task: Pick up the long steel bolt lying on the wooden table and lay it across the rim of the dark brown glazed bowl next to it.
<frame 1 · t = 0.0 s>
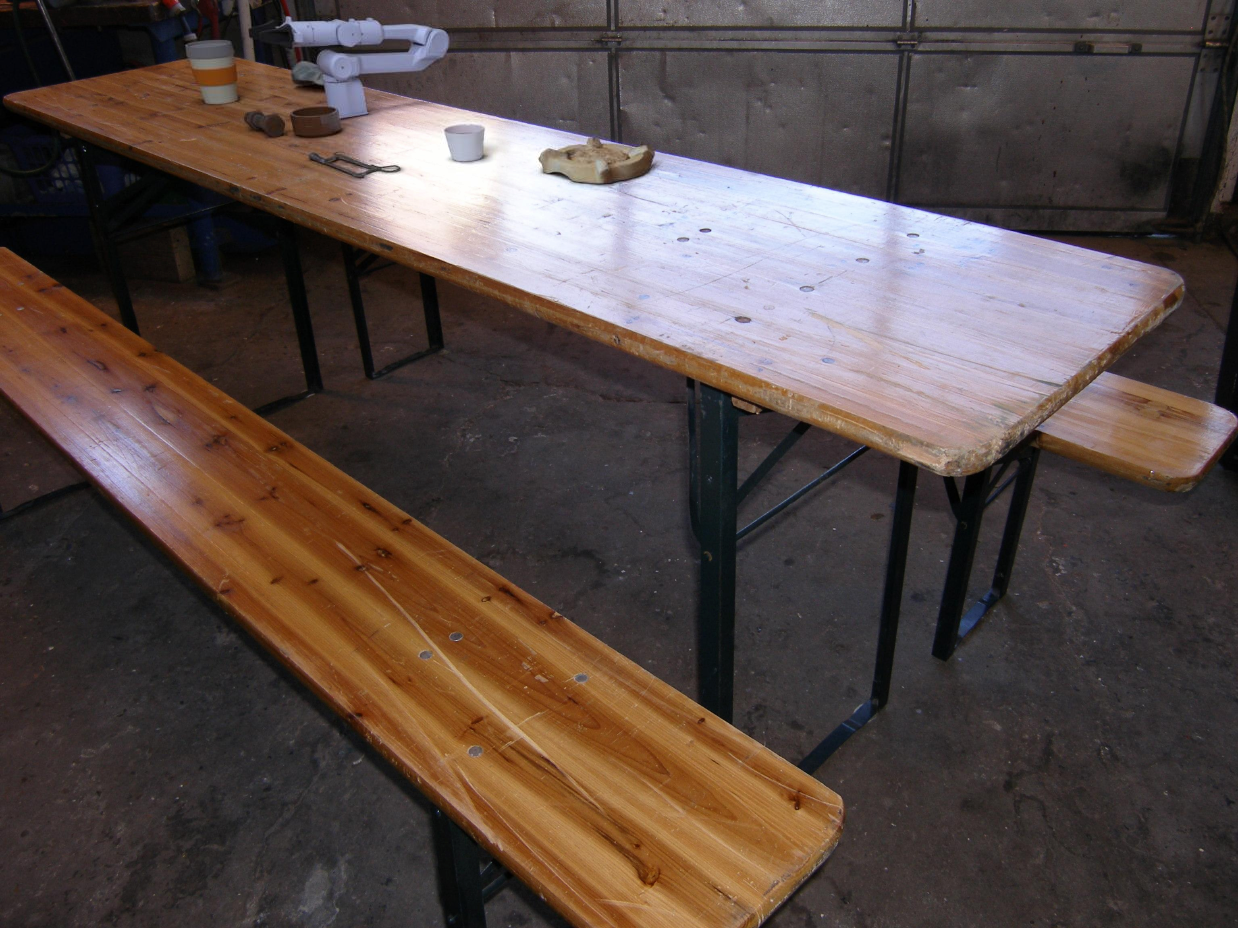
hand: (254, 35, 235), 22 cm above the table, tool horizontal, fingers open, 7 cm apart
reusable coffee cup: (221, 101, 275), on the table
bolt: (264, 132, 243), on the table
white tapered cup: (467, 159, 218), on the table
bowl: (317, 132, 241), on the table
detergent: (329, 90, 284), on the table
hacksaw: (354, 165, 216), on the table
ashtray: (598, 170, 209), on the table
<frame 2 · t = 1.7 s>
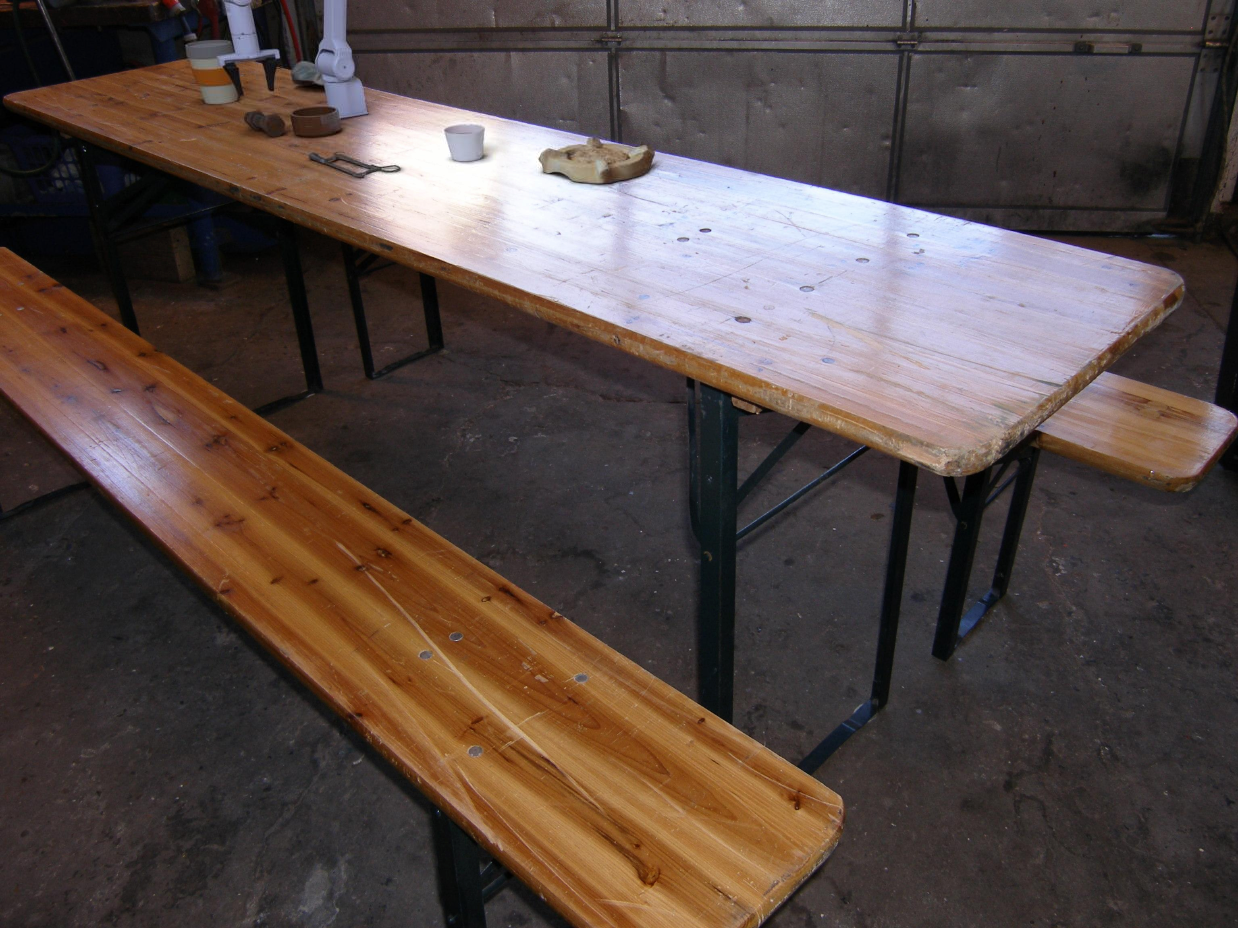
hand: (256, 93, 238), 9 cm above the table, tool pointing down, fingers open, 7 cm apart
nothing on the table moved.
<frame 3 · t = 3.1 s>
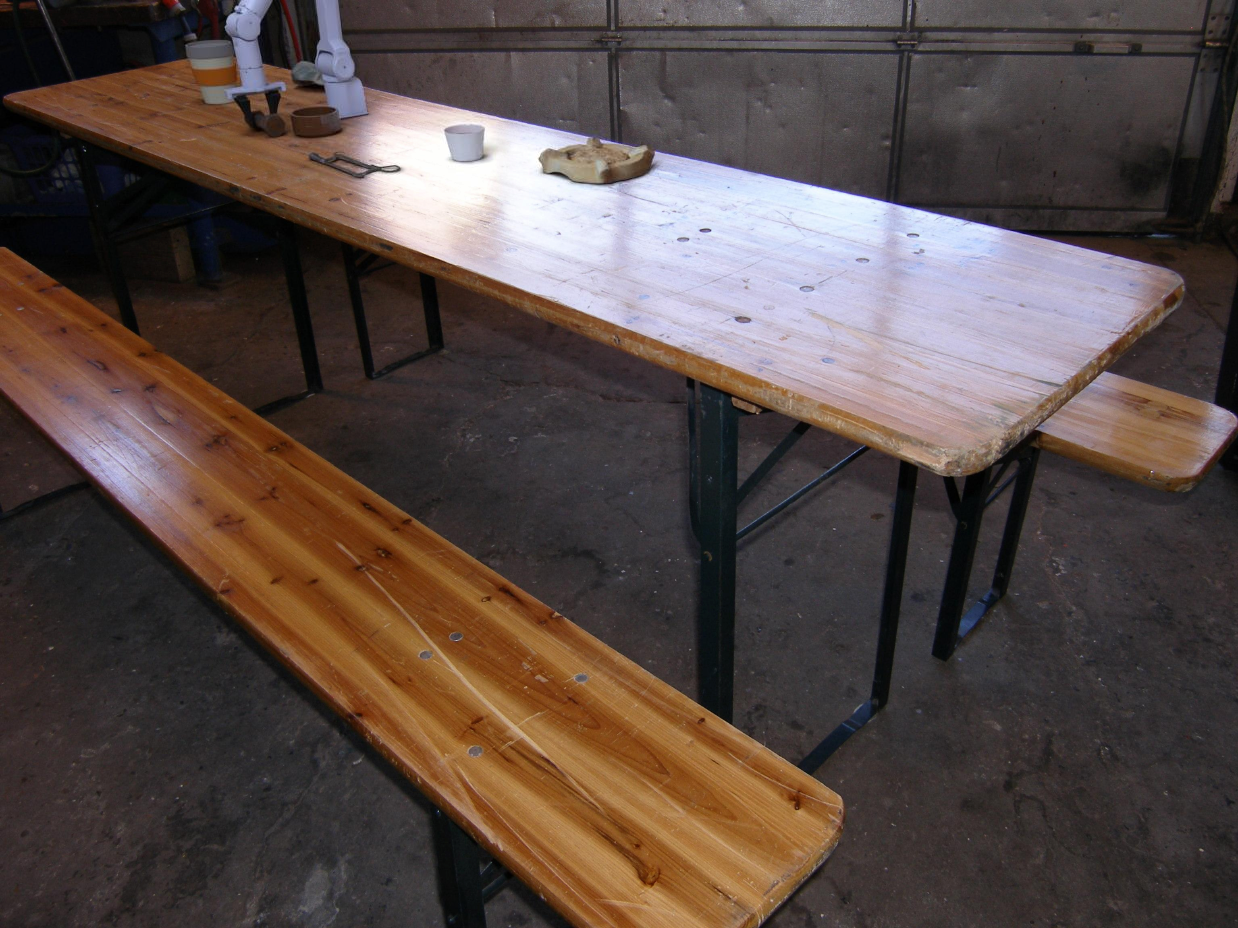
hand: (263, 125, 242), 2 cm above the table, tool pointing down, fingers closed on bolt, 5 cm apart
bolt: (265, 132, 243), on the table, touching gripper
everything else where it was.
when the fingers open (7 cm above the table, at t = 6.9 s): bolt stays where it is, resting on bowl.
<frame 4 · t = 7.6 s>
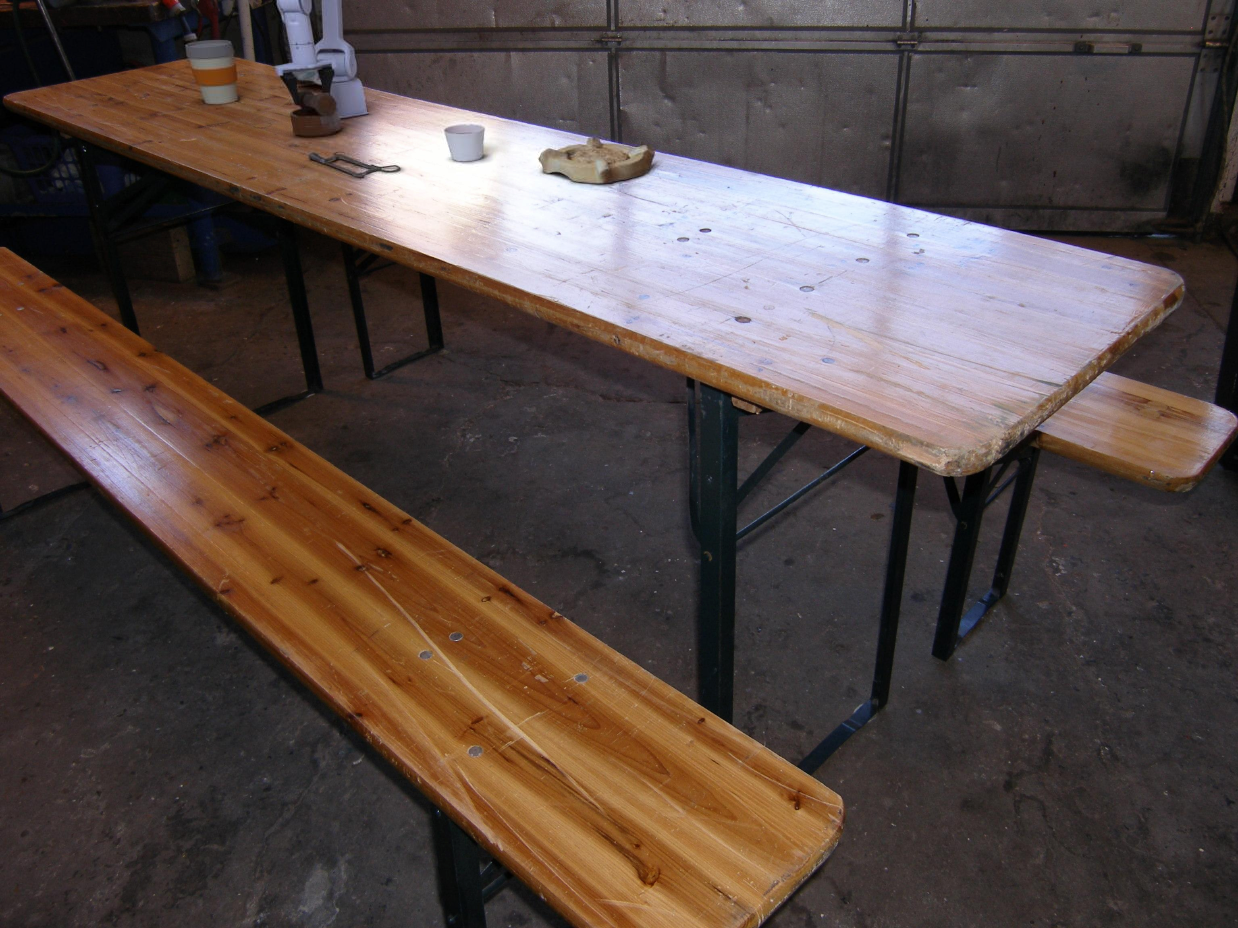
hand: (312, 102, 237), 7 cm above the table, tool pointing down, fingers open, 7 cm apart
bolt: (314, 112, 239), point 5 cm above the table, touching bowl
everything else where it was.
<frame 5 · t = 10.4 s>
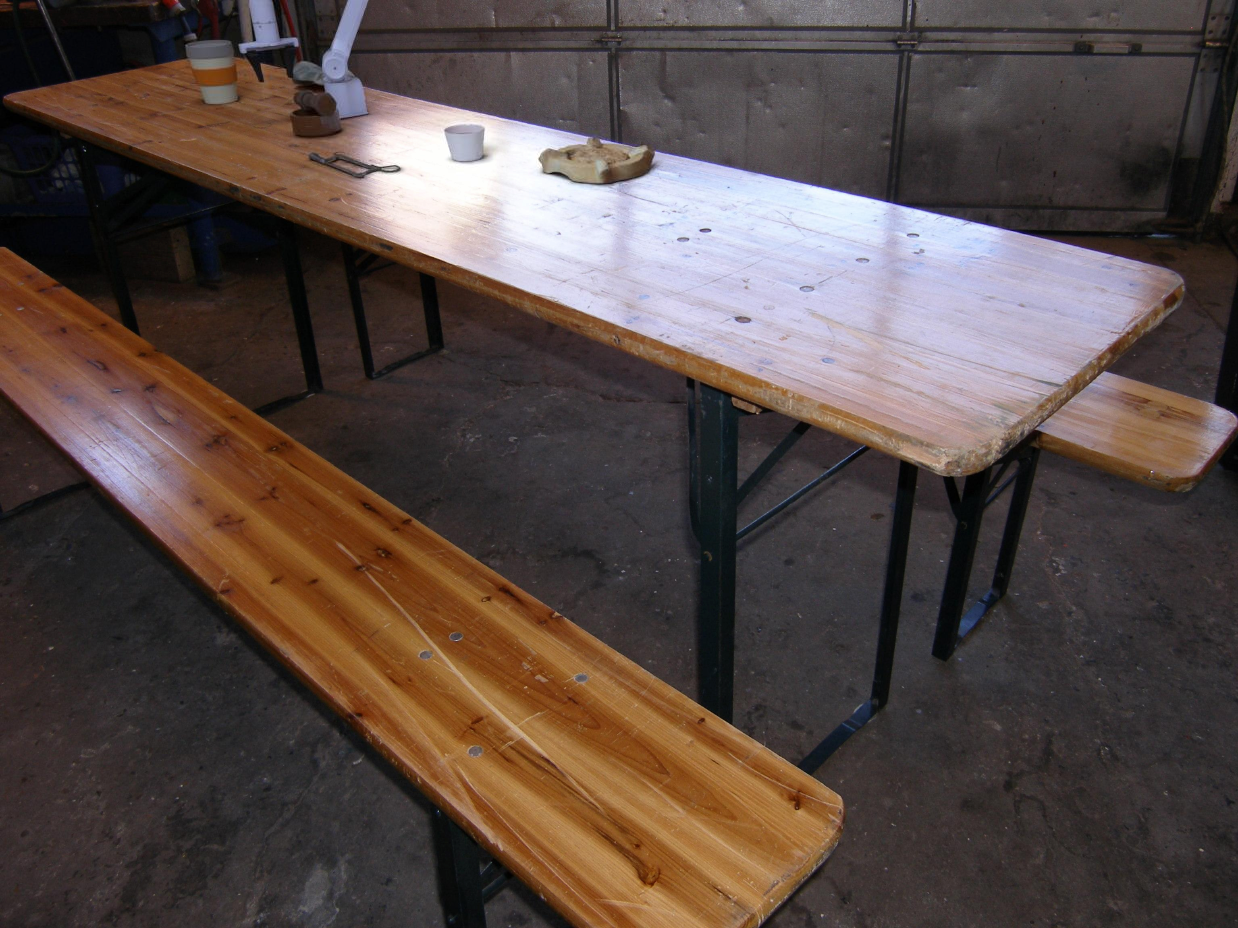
hand: (276, 80, 248), 10 cm above the table, tool pointing down, fingers open, 7 cm apart
nothing on the table moved.
at the end: bolt 0.1 cm off-centre on the bowl, point 4.8 cm above the bowl's base; bolt touching bowl; the gripper is holding nothing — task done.
